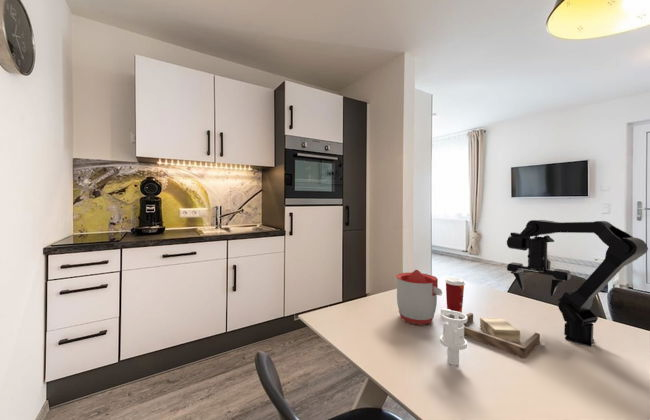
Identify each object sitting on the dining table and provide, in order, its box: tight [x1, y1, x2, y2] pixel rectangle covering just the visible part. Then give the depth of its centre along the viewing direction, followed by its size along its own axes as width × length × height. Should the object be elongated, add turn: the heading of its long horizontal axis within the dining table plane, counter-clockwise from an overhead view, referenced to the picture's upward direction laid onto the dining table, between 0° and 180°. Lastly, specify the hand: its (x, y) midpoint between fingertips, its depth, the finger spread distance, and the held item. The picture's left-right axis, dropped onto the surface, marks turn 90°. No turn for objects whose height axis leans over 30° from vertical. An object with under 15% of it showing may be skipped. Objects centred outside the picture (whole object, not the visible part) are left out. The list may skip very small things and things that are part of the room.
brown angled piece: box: [459, 312, 541, 360], centre depth 95 cm, size 22×15×3 cm
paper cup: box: [444, 277, 466, 313], centre depth 116 cm, size 8×8×14 cm
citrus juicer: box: [396, 269, 443, 326], centre depth 108 cm, size 16×17×20 cm
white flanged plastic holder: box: [439, 307, 468, 366], centre depth 79 cm, size 7×7×15 cm
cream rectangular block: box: [479, 317, 521, 342], centre depth 97 cm, size 10×8×4 cm
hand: (536, 292), depth 105 cm, fingers open, 9 cm apart
